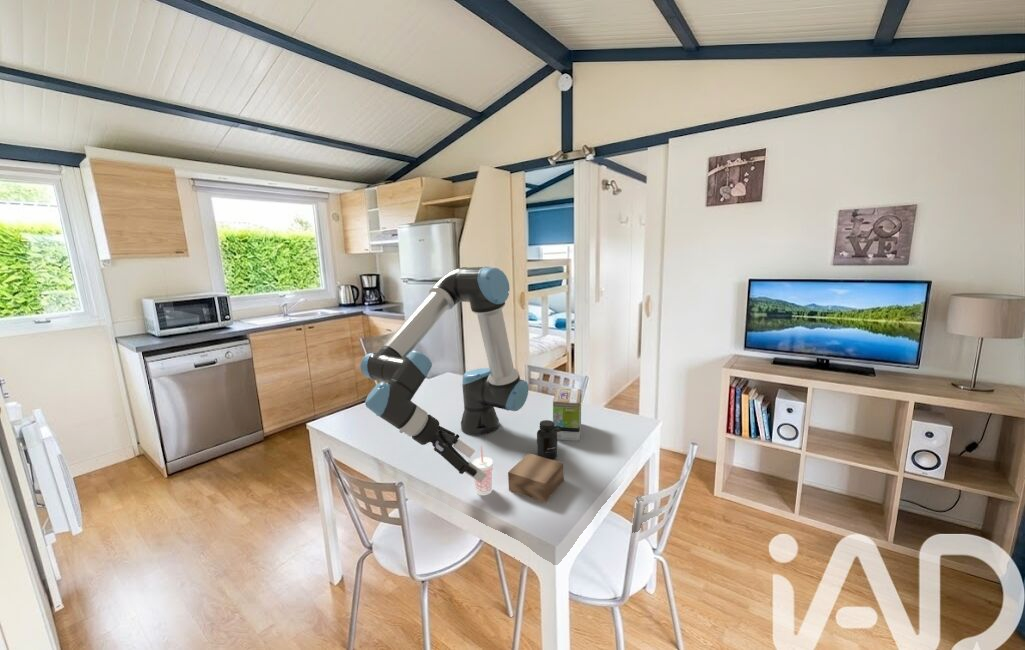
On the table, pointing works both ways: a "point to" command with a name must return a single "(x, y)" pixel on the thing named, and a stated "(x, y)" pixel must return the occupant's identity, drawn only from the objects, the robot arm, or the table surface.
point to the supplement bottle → (547, 440)
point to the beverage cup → (485, 466)
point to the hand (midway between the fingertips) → (477, 465)
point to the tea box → (567, 413)
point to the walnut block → (536, 477)
